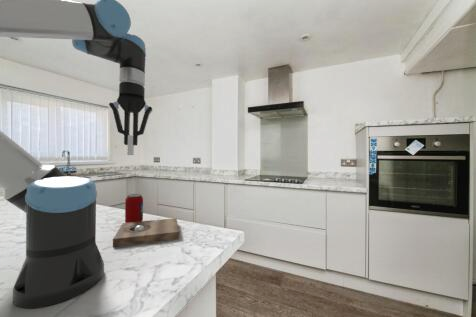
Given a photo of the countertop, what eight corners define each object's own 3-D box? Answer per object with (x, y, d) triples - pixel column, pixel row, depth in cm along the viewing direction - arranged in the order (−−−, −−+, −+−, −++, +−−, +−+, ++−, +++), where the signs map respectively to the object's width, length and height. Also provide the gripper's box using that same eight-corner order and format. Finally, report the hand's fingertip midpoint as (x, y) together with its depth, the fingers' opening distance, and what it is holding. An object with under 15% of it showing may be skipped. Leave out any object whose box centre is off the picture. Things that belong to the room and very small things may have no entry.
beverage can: (146, 222, 86) (146, 194, 86) (130, 226, 81) (130, 197, 81) (137, 219, 90) (137, 193, 90) (121, 223, 84) (122, 195, 84)
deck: (176, 224, 85) (176, 218, 85) (178, 238, 70) (178, 231, 70) (122, 229, 78) (122, 222, 78) (112, 246, 63) (112, 239, 63)
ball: (139, 238, 71) (146, 230, 72) (131, 233, 70) (138, 225, 71) (140, 234, 74) (147, 227, 75) (132, 229, 73) (139, 221, 74)
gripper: (153, 91, 73) (152, 155, 73) (112, 85, 68) (111, 154, 68) (152, 84, 66) (150, 155, 66) (106, 77, 61) (104, 154, 61)
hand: (130, 155), depth 67 cm, fingers closed
